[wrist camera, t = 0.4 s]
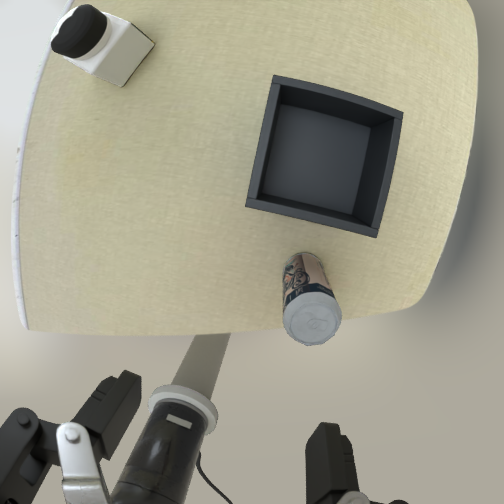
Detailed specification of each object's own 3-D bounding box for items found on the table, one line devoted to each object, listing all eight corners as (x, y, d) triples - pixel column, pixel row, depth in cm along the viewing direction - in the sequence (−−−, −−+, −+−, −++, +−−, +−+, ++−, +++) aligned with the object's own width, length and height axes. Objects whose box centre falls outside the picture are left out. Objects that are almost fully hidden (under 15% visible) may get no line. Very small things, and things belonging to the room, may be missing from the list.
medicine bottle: (156, 44, 26) (108, 3, 14) (122, 88, 28) (62, 64, 16) (123, 28, 25) (73, -6, 14) (92, 69, 27) (34, 47, 16)
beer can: (287, 248, 32) (290, 292, 20) (327, 256, 31) (352, 303, 20) (278, 286, 33) (277, 345, 21) (317, 293, 33) (333, 353, 21)
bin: (354, 222, 30) (376, 238, 22) (253, 198, 30) (244, 206, 23) (375, 124, 27) (403, 112, 19) (274, 97, 27) (273, 74, 19)
